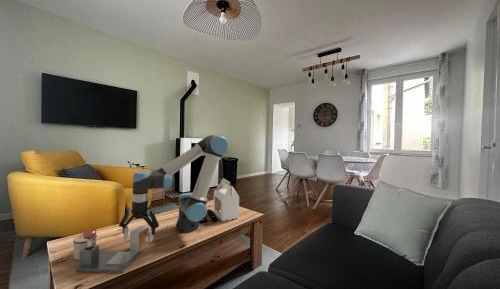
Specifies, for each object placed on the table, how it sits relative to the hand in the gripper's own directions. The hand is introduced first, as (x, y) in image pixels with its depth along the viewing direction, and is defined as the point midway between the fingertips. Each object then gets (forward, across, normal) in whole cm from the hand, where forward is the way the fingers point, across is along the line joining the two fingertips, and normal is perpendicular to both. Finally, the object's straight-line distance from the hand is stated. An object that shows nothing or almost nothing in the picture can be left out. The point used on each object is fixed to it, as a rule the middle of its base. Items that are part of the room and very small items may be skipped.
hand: (138, 239), depth 110 cm
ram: (-1, +14, +16) cm, 21 cm away
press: (+5, +6, +13) cm, 15 cm away
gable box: (+4, -42, -51) cm, 66 cm away
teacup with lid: (+5, +24, +6) cm, 25 cm away
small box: (+5, 0, 0) cm, 5 cm away
